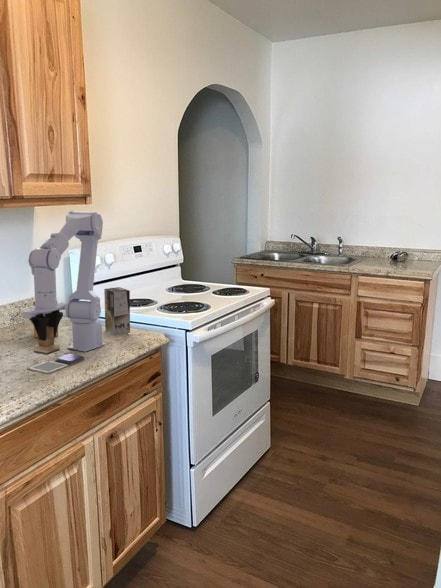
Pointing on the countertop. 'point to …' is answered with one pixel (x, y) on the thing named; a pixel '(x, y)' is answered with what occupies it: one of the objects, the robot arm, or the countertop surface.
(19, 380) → the countertop surface
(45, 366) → the print mark
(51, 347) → the stamp
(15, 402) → the countertop surface
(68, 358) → the ink pad
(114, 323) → the coffee box
